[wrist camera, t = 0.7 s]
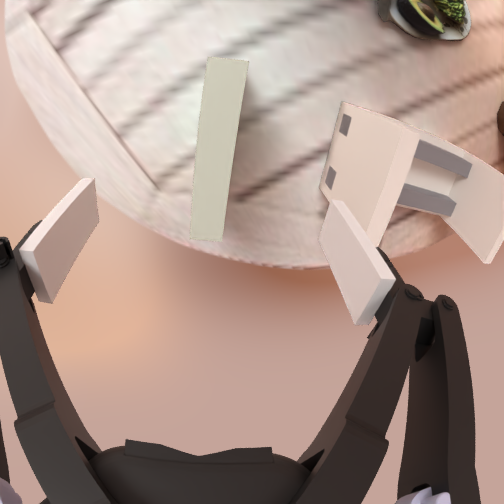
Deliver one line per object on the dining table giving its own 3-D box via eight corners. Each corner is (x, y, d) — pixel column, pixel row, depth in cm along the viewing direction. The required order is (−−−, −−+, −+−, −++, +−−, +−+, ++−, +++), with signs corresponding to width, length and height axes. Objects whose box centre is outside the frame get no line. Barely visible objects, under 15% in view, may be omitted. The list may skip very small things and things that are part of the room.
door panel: (213, 61, 26) (206, 56, 17) (242, 64, 27) (250, 61, 17) (198, 186, 36) (188, 239, 26) (223, 188, 36) (223, 242, 26)
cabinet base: (318, 187, 37) (358, 249, 26) (341, 101, 30) (403, 127, 19) (441, 213, 41) (490, 264, 29) (466, 150, 34) (526, 191, 22)
